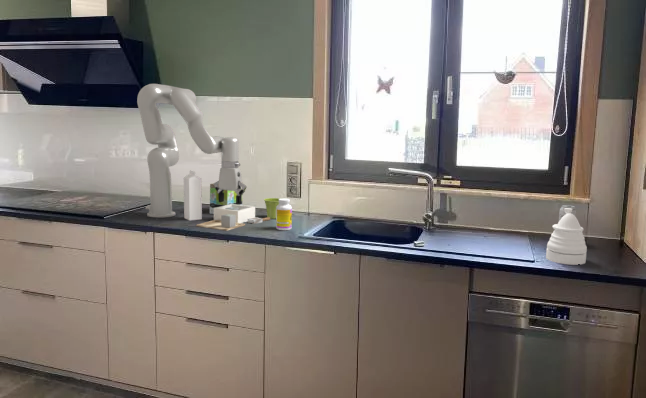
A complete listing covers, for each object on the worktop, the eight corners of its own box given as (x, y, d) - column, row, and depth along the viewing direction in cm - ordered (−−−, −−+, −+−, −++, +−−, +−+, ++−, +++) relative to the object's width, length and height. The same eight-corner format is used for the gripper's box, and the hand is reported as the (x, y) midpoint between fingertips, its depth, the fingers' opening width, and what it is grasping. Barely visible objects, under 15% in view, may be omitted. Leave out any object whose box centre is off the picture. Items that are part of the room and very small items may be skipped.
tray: (196, 227, 231) (196, 224, 231) (215, 221, 242) (215, 219, 242) (226, 231, 224) (226, 229, 223) (245, 226, 235) (245, 223, 235)
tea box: (227, 216, 257) (227, 185, 254) (209, 214, 260) (208, 183, 258) (243, 211, 270) (243, 181, 268) (225, 209, 274) (225, 180, 272)
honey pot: (541, 254, 199) (545, 205, 196) (577, 255, 198) (582, 207, 195) (552, 263, 187) (557, 212, 184) (591, 265, 186) (596, 213, 183)
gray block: (221, 226, 230) (221, 215, 229) (227, 225, 234) (227, 213, 233) (229, 228, 228) (229, 216, 228) (235, 226, 232) (235, 215, 231)
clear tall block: (553, 241, 220) (556, 204, 218) (566, 241, 222) (569, 204, 219) (563, 245, 214) (566, 207, 212) (576, 244, 216) (580, 207, 213)
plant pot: (267, 215, 261) (267, 197, 259) (286, 216, 259) (286, 198, 257) (261, 218, 252) (261, 200, 250) (280, 220, 250) (281, 201, 248)
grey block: (231, 217, 251) (231, 206, 251) (238, 218, 250) (238, 207, 249) (225, 218, 248) (225, 208, 247) (232, 219, 246) (232, 208, 245)
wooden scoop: (253, 224, 238) (253, 220, 238) (247, 223, 241) (247, 218, 241) (272, 221, 247) (272, 217, 246) (266, 219, 249) (266, 215, 249)
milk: (189, 221, 243) (188, 172, 239) (184, 218, 247) (183, 170, 244) (202, 219, 246) (201, 171, 243) (196, 217, 251) (195, 170, 247)
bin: (213, 221, 244) (213, 208, 243) (231, 216, 255) (231, 204, 254) (237, 224, 238) (237, 211, 237) (255, 219, 249) (255, 206, 248)
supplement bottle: (292, 230, 228) (292, 200, 226) (276, 231, 227) (276, 200, 225) (290, 227, 235) (291, 198, 233) (275, 227, 234) (275, 198, 232)
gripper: (250, 165, 243) (250, 203, 246) (219, 163, 251) (219, 199, 253) (240, 167, 236) (240, 206, 239) (209, 164, 244) (209, 202, 247)
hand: (229, 202), depth 246 cm, fingers open, 9 cm apart
